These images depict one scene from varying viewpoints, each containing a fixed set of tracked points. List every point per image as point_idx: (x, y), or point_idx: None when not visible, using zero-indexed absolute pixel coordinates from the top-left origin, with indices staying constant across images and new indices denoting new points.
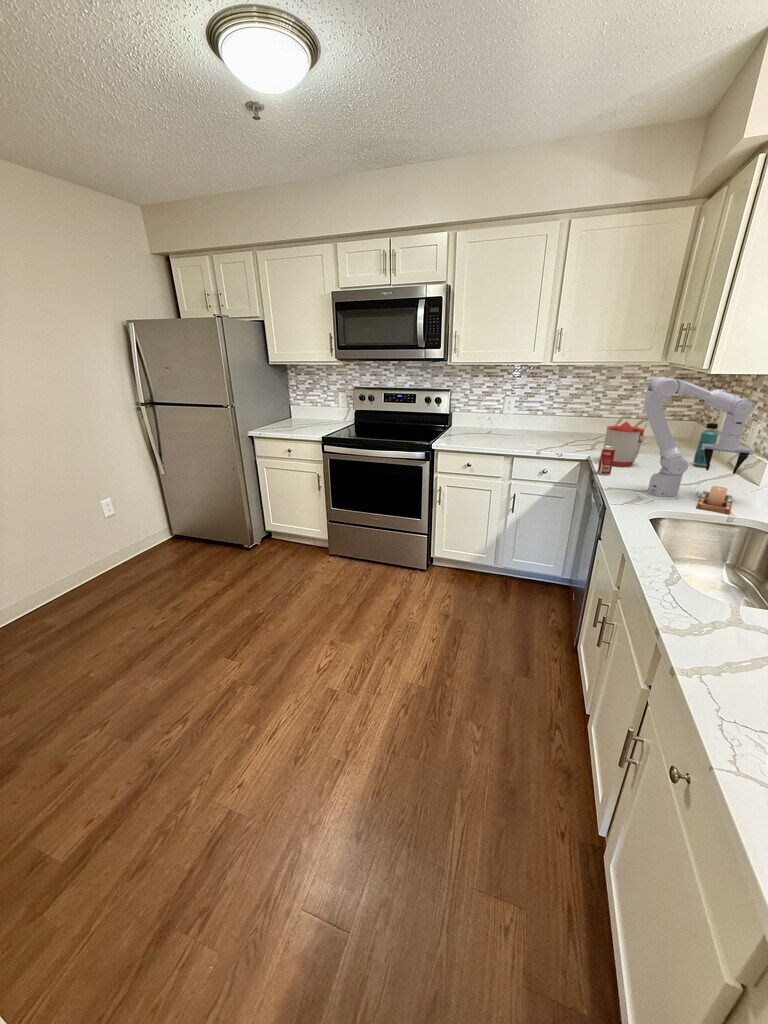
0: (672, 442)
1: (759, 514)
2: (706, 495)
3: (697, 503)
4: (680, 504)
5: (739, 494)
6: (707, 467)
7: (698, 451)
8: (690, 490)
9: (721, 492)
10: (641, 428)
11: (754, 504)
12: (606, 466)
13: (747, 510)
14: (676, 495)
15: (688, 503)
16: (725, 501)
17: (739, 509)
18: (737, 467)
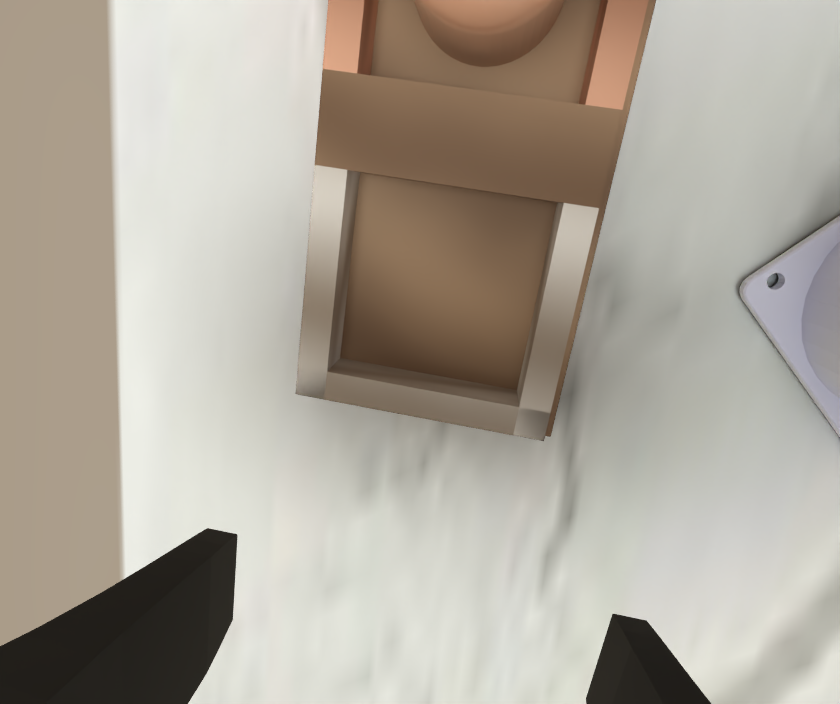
0: None
1: (113, 100)
2: (511, 394)
3: (640, 61)
4: (817, 6)
5: (243, 625)
6: (664, 657)
7: None
8: (604, 590)
9: None
10: None
11: (151, 401)
12: None
13: (197, 178)
14: (833, 258)
15: (710, 109)
16: (368, 126)
17: (256, 172)
18: (101, 601)
